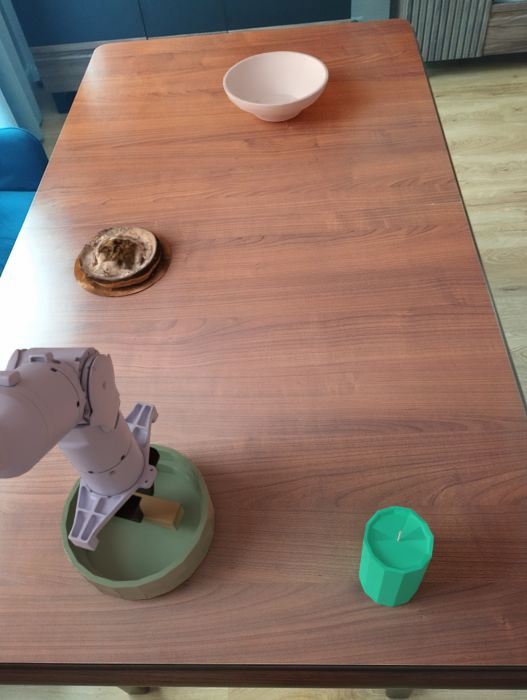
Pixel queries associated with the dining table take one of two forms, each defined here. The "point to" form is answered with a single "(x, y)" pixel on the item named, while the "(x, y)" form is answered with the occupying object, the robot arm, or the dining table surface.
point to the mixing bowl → (148, 537)
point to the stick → (161, 511)
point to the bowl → (276, 84)
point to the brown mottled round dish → (122, 261)
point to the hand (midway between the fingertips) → (139, 506)
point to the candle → (394, 555)
